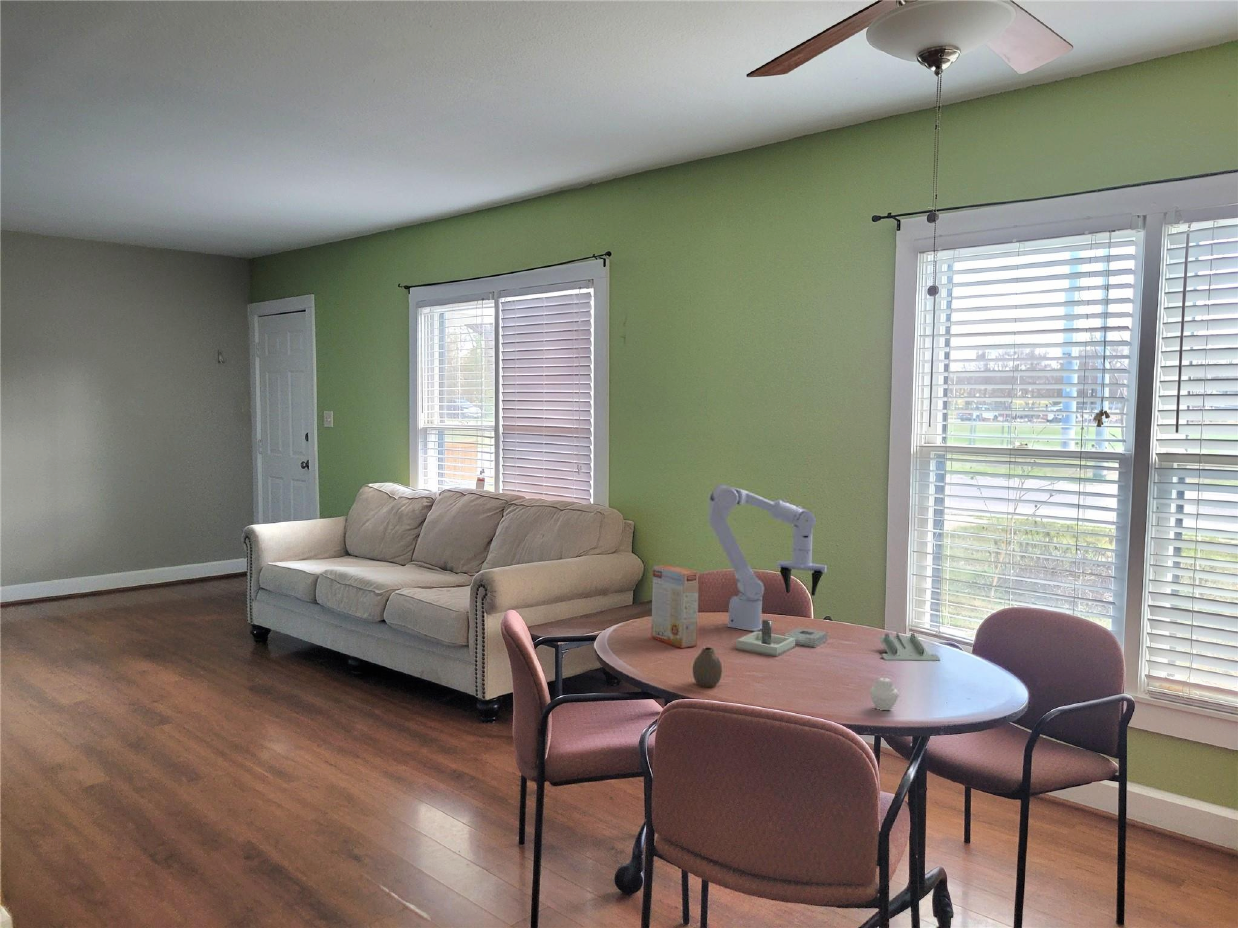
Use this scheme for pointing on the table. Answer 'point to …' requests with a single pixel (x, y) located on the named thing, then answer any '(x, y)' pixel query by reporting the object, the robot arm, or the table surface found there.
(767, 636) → the pin
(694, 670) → the vase
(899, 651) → the metal bracket
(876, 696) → the white rounded piece
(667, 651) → the table surface
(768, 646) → the tray
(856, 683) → the table surface
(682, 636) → the cracker box
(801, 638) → the block
